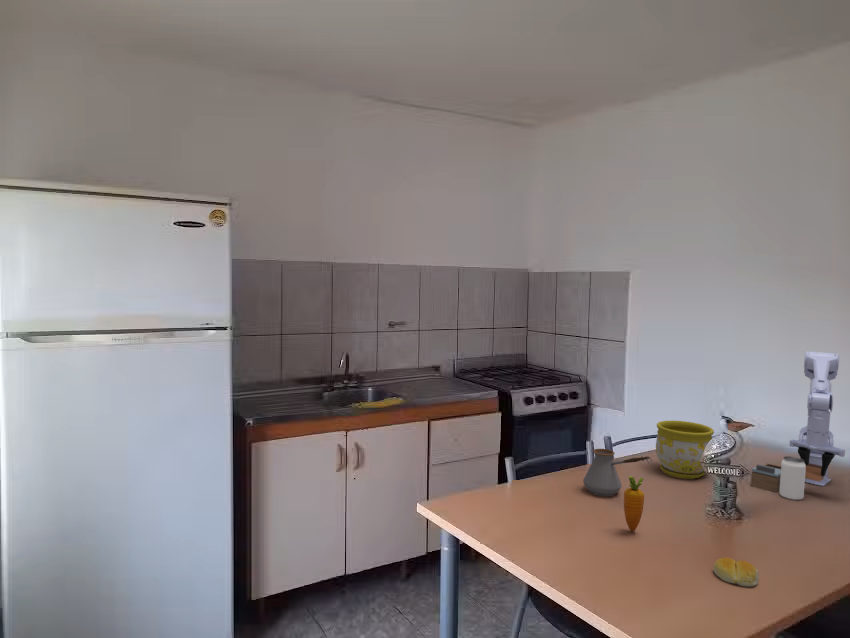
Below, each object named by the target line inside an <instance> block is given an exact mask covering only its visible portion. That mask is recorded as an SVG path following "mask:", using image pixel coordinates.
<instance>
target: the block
mask: <svg viewBox="0 0 850 638" xmlns="http://www.w3.org/2000/svg"><path fill="white" fill-rule="evenodd" d="M821 470H822V466H820V465H815V464H811V463H809V464H808V465H806V472H805V478H806V479H811V480H815V481H819V482H820V481H821V480H823V477H824V476H821Z"/></svg>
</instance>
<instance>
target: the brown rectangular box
mask: <svg viewBox="0 0 850 638" xmlns="http://www.w3.org/2000/svg"><path fill="white" fill-rule="evenodd" d="M763 465H764V466H769V467H773V468H777V469H781V465H776V464H771V463H765V464H763ZM780 476H781V475H780ZM780 476H779V477H774V476H770V475H766V474H762V473H758V472H753V471H751V478H750V486H751V487H753V488H754V487H755V488H758V489H762V490H766V491H769V492H770V491H771V492H774V493H778V492H779V491H780Z"/></svg>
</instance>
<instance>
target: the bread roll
mask: <svg viewBox="0 0 850 638" xmlns="http://www.w3.org/2000/svg"><path fill="white" fill-rule="evenodd" d="M713 572H714V574H715V575H716V576H717V577H718V578H720V580H722V581H725V582H726V583H729V584H736V585H738V586H741V587H749V588H750V587H757V584H758V583H759V570H758V569H757V568H756V567H755V566H754V565H753V564H752V563H751V562H748V561H747V560H738V561H736V560H735V559H734V558H731V557H729V556H728V557H721V558H718V559H717V560H716V561H715V562H714V563H713Z"/></svg>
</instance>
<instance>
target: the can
mask: <svg viewBox="0 0 850 638" xmlns="http://www.w3.org/2000/svg"><path fill="white" fill-rule="evenodd" d="M782 458H783V459H782V460H781V465H780V466H781V476H780V490H779V491H778V492H779V495H780V496H781V497H782V498H785V499H786V500H787V499H788V500H790V501H791V500H793V501H802V500H803V499H804V498H805V497H804V496H805V495H804V494H805V486H806V485H805V484H806V482H805V472H806V465H805V463H804V461H805V460H803V459H801V458H800V457H797V456H791V455H790V456H789V455H787V456H783V457H782Z"/></svg>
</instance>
